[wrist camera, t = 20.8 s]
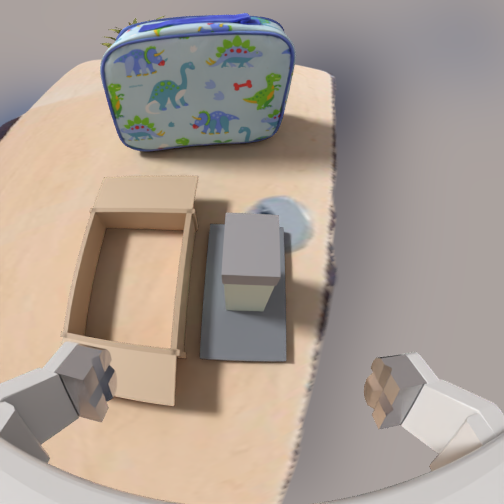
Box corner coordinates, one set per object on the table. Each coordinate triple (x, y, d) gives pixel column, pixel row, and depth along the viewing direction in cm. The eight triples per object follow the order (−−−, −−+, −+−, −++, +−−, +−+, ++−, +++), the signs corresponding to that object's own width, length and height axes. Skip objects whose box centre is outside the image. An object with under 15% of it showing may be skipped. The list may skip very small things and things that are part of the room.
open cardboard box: (184, 402, 26) (177, 406, 22) (74, 382, 25) (56, 380, 22) (202, 195, 37) (200, 175, 34) (111, 194, 36) (102, 177, 33)
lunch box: (273, 109, 47) (288, 7, 28) (285, 147, 42) (310, 27, 24) (132, 121, 44) (109, 22, 25) (122, 161, 39) (84, 47, 21)
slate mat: (284, 361, 29) (286, 360, 28) (200, 358, 28) (199, 358, 27) (282, 231, 36) (283, 227, 35) (210, 227, 35) (210, 223, 34)
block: (264, 312, 30) (280, 276, 20) (225, 311, 30) (221, 274, 20) (264, 267, 32) (278, 215, 22) (227, 266, 32) (225, 212, 22)
